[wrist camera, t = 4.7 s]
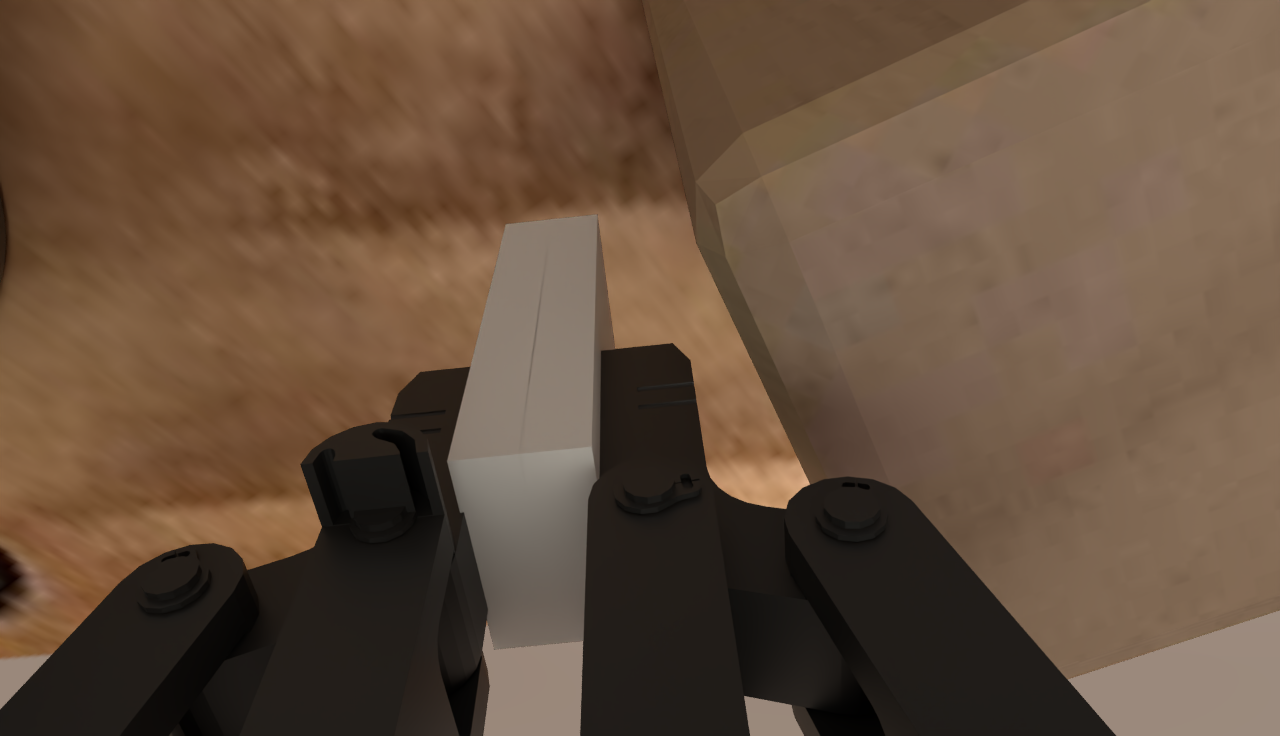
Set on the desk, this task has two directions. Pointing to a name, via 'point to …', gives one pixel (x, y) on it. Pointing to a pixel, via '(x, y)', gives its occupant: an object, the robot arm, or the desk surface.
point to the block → (1012, 281)
